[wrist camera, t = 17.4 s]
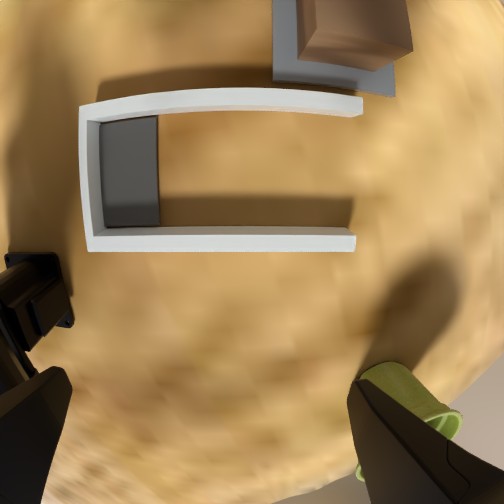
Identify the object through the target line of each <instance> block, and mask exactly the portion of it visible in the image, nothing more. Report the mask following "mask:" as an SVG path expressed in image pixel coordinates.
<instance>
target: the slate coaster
mask: <svg viewBox="0 0 504 504" xmlns="http://www.w3.org/2000/svg"><path fill="white" fill-rule="evenodd" d="M272 82H279V83H295V84H307V85H317V86H326V87H334V88H341V89H348V90H354V91H360V92H366V93H372V94H377V95H382V96H387V97H395V78H394V64H393V62H391V63H389V64H388V65H386V66H384V67H382V68H380V69H378V70H376V71H375V72H372V71H367V70H362V69H357V68H352V67H346V66H340V65H334V64H327V63H319V62H311V61H302V60H297V18H296V0H272Z"/></svg>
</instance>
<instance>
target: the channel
mask: <svg viewBox="0 0 504 504" xmlns="http://www.w3.org/2000/svg"><path fill="white" fill-rule="evenodd" d="M232 110H252V111H284V112H301V113H313V114H324V115H334V116H342V117H350V118H351V117H355V116H358V115H361V114H363V98H361V97H355V96H348V95H341V94H334V93H326V92H316V91H306V90H293V89H276V88H208V89H191V90H178V91H168V92H159V93H150V94H143V95H136V96H129V97H123V98H118V99H112V100H107V101H102V102H97V103H92V104H88V105H83V106H79V171H80V188H81V200H82V210H83V219H84V227H85V235H86V242H87V248H88V252H355V245H356V235H355V234H354V233H352V232H351V231H350V230H349V229H347V228H346V227H298V226H188V227H135V228H107V227H106V226H139V225H160V210H159V191H158V160H157V117H153V118H145V119H136V120H129V121H122V122H115V123H109V124H103V125H101V123H102V122H107V121H113V120H120V119H127V118H134V117H142V116H150V115H160V114H170V113H183V112H200V111H232Z"/></svg>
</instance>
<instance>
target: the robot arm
mask: <svg viewBox="0 0 504 504" xmlns="http://www.w3.org/2000/svg"><path fill="white" fill-rule="evenodd" d="M51 258H52V259H53V261H52V259H51ZM4 259H5V263H6V268H7V269H6V270H5V271H3V272H2V273H0V504H41V500H42V496H43V492H44V488H45V484H46V481H47V477H48V473H49V470H50V467H51V463H52V460H53V457H54V454H55V451H56V448H57V444H58V442H59V439H60V436H61V433H62V430H63V426H64V422H65V418H66V414H67V410H68V406H69V402H70V399H71V395H72V385H71V383H70V381H69V379H68V376H67V374H66V372H65V370H64V369H63V368H61V367H56V366H52V367H50V368H48V369H46V370H45V371H43V372H41V373H39V372H38V371H37V369H36V368H34V366H33V365H32V363H31V361H30V360H29V358H28V356H27V354H26V353H25V351H28V352H30V351H31V350H32V349H33V347H34V346H35V345H36V344H37V343H38V342H39V341H40V339H41V338H42V337H45V336H46V335H47V334H48V333H49V332H50V331H51V330H52V329H53V327H54V326H58V327H64V328H71V327H72V326H73V325H74V320H73V317H72V313H71V310H70V306H69V303H68V299H67V295H66V291H65V287H64V283H63V278H62V274H61V269H60V265H59V260H58V256H57V255H56V254H55V253H53V252H9V253H7V254H5V256H4ZM347 408H348V413H349V418H350V424H351V430H352V435H353V441H354V446H355V450H356V453H357V456H358V460H359V463H360V466H361V470H362V473H363V477H364V480H365V483H366V487H367V490H368V494H369V497H370V501H371V504H504V471H503V470H501V469H499V468H497V467H495V466H493V465H491V464H489V463H487V462H485V461H483V460H481V459H480V458H478V457H476V456H474V455H473V454H471V453H469V452H467V451H466V450H464V449H463V448H461V447H460V446H458V445H457V444H455V443H454V442H453V441H451V440H450V439H447V437H445V436H444V435H443V434H441V433H440V432H438V431H437V430H436V429H434V428H433V427H431V426H430V425H429V424H427V423H426V422H425V421H423V420H422V419H420V418H419V417H418V416H416V415H415V414H414V413H412V412H411V411H410V410H408V409H407V408H405V407H404V406H403V405H401V404H400V403H399V402H397V401H396V400H395V399H393V398H392V397H391V396H389V395H388V394H387V393H385V392H384V391H383V390H381V389H380V388H379V387H377V386H376V385H375V384H373V383H372V382H371V381H369V380H368V379H365V378H364V379H357V380H354V381H353V382H352V384H351V388H350V391H349V394H348V397H347Z"/></svg>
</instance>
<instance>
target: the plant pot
mask: <svg viewBox="0 0 504 504" xmlns="http://www.w3.org/2000/svg"><path fill="white" fill-rule="evenodd" d="M364 378H365V379H368V380H369V381H371V382H372V383H373V384H375V385H376V386H377V387H379V388H380V389H381V390H383V391H384V392H385V393H387V394H388V395H389V396H391V397H392V398H393V399H395V400H396V401H397V402H399V403H400V404H401V405H403V406H404V407H405V408H407V409H408V410H410V411H411V412H412V413H414V414H415V415H416V416H418V417H419V418H420V419H422V420H423V421H425V422H426V423H427V424H429V425H430V426H431V427H433V428H434V429H436V430H437V431H438V432H440V433H441V434H443V435H444V436H445V437H447V439H450V440H451V441H452V440H453V438H454V437H455V436H456V434H457V433H458V431H459V430H460V427H461V425H462V422H463V417H462V415H461V414H460V412H458V411H456V410H453V409H450V408H449V407H448V406H446V405H445V404H443V403H440V402H439V401H438V400H437V399H436V398H435V397H434V396H433V395H432V394H431V393H430V392H429V391H428V390H427V389H426V388H425V387H424V386H423V384H422V383H421V382H420V381H419V380H418V379H417V378H416V377H415V376H414V375H413V374H412V373H411V372H410V371H409V370H408V369H407V368H406V367H405V366H404V365H402V364H399V363H396V362H392V361H391V362H384V363H381V364H378V365H376V366H374V367H372V368H370V369H369V370H367V371H366V372H364V373H363V374H362V375H361V377H360V379H364ZM355 472H356V476H357V478H358V479H359V480H362V481H364V482H365V480H364V477H363V473H362V470H361V466H360V463H359V460H358V465H357V467H356V471H355Z"/></svg>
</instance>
